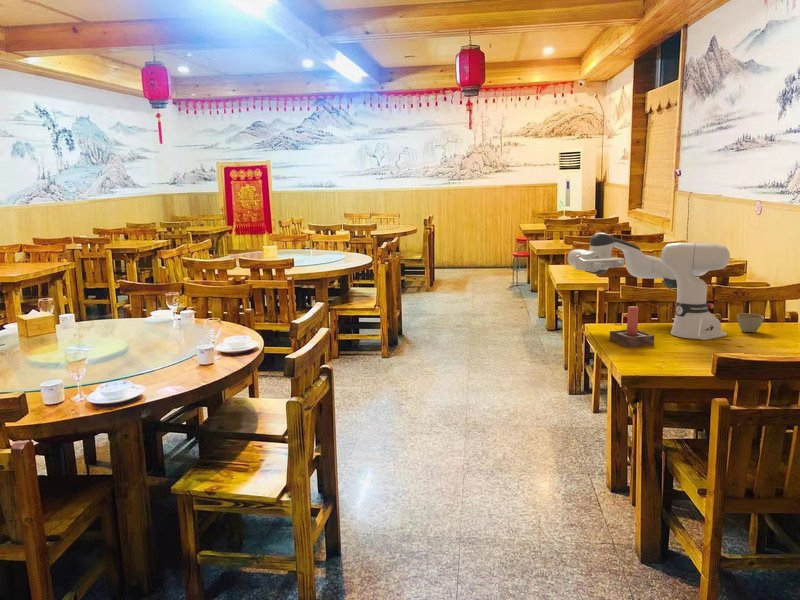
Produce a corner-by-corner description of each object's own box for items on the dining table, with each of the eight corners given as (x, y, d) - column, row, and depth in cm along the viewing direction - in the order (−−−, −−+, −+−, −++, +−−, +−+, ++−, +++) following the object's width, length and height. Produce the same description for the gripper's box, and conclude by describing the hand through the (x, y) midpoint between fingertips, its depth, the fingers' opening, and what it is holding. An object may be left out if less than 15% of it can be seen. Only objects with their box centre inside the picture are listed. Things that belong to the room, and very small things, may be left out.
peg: (632, 339, 257) (634, 305, 254) (638, 341, 253) (640, 307, 251) (624, 340, 256) (625, 306, 253) (630, 342, 252) (632, 308, 250)
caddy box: (634, 338, 262) (634, 329, 261) (653, 345, 251) (654, 335, 250) (609, 340, 259) (610, 331, 258) (628, 348, 247) (628, 338, 247)
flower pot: (756, 335, 264) (758, 319, 263) (731, 331, 271) (733, 315, 270) (765, 331, 270) (767, 315, 269) (741, 328, 278) (742, 312, 277)
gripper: (612, 267, 280) (632, 271, 267) (572, 269, 274) (590, 274, 261) (613, 253, 279) (633, 256, 266) (572, 255, 273) (591, 259, 260)
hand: (612, 265), depth 263 cm, fingers open, 8 cm apart
